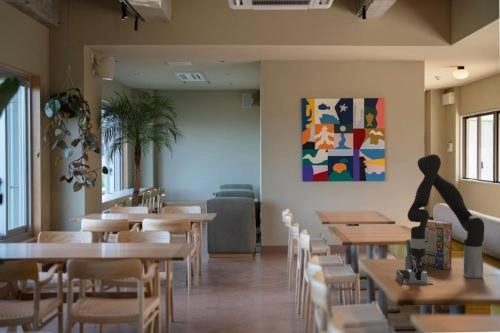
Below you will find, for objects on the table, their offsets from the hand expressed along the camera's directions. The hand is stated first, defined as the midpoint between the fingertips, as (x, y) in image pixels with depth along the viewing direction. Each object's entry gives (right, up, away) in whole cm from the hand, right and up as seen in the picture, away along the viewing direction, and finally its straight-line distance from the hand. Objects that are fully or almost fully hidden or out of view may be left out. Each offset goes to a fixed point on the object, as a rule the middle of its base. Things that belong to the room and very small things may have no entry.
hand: (417, 278), depth 285 cm
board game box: (+24, -1, +41) cm, 47 cm away
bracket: (+6, -2, +28) cm, 29 cm away
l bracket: (0, -1, +3) cm, 3 cm away
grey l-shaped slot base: (-1, -2, +3) cm, 4 cm away
